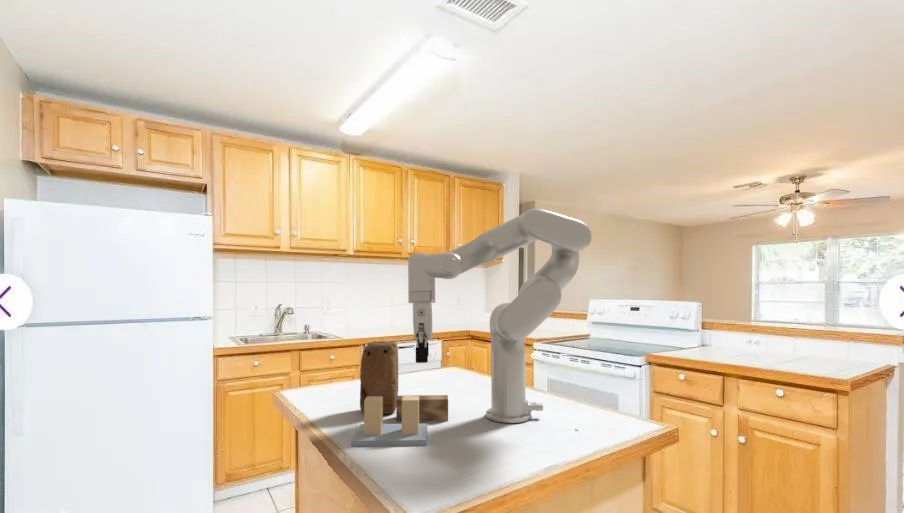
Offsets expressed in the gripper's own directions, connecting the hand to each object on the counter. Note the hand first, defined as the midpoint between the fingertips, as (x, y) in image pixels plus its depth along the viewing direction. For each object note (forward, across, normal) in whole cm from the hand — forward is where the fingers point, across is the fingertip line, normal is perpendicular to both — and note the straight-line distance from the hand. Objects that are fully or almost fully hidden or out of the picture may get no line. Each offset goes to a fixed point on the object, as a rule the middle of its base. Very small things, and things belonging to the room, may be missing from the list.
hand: (422, 359), depth 123 cm
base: (+16, -14, +7) cm, 22 cm away
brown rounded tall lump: (+16, +7, +13) cm, 22 cm away
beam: (+16, 0, 0) cm, 16 cm away
